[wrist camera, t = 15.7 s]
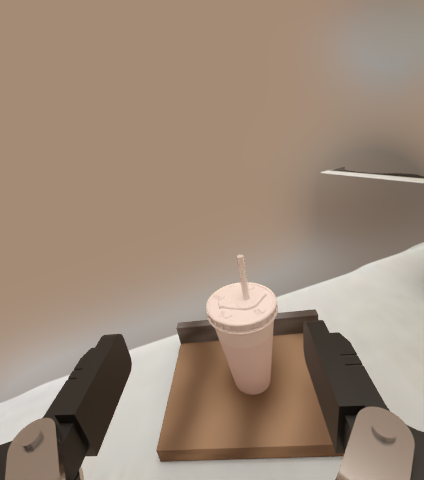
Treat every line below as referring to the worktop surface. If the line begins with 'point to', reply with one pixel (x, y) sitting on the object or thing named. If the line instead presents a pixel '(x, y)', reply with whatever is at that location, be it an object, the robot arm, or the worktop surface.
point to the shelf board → (242, 401)
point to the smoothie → (245, 330)
